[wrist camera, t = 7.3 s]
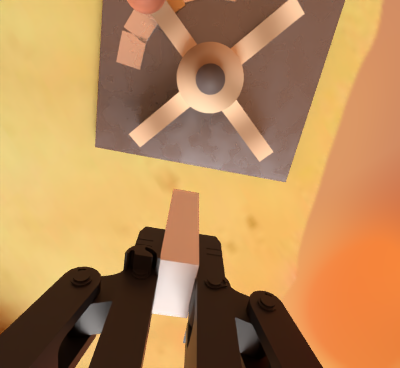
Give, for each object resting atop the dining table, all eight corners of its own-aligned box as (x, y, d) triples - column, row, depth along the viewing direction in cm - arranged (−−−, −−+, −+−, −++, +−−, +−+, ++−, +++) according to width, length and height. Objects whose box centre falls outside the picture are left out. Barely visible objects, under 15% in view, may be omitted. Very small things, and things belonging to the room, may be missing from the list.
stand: (99, 143, 33) (94, 147, 31) (111, -56, 26) (105, -65, 24) (282, 177, 34) (286, 183, 33) (340, -4, 27) (349, -9, 26)
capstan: (194, 192, 33) (192, 222, 27) (76, 55, 28) (38, 51, 21) (332, 93, 29) (370, 100, 22) (224, -91, 24) (233, -152, 17)
